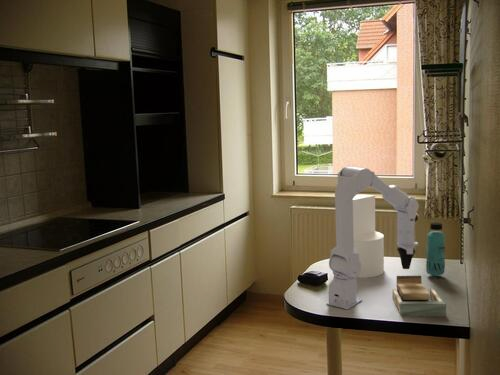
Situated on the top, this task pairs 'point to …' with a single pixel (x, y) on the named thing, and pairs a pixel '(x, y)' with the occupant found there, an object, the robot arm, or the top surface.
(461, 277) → the top surface
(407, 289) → the small wooden block
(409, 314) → the pale green tray
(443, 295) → the top surface
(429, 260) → the beverage bottle
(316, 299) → the top surface
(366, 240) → the white tall stepped piece
